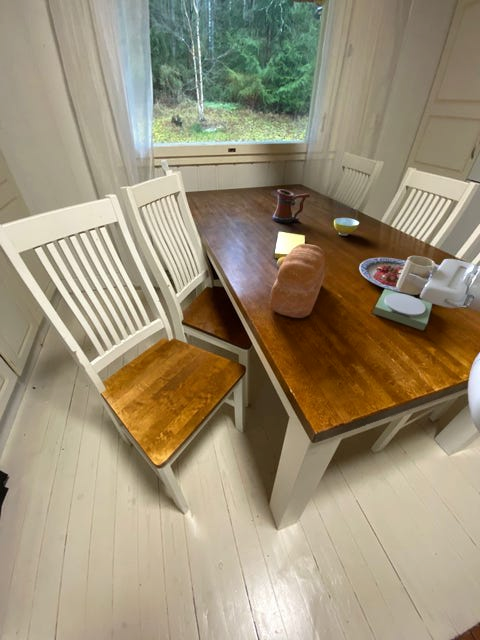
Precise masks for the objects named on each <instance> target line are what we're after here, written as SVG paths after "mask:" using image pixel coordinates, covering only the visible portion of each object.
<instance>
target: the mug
mask: <svg viewBox="0 0 480 640" xmlns="http://www.w3.org/2000/svg"><path fill="white" fill-rule="evenodd" d="M310 195H311V194H310V193H309V192H308V193H304V194H303V193H302V194H296V195H294V193H293V192H292V191H289V190H287V189H283V188H279V189H277V205H276V209H275V212H274V214H273V215H272V219H273V221H275V222H277V223H281V224H288V223H292V222H293V221H295V222H298V221H300V218H299V217H297V216H298V215H299V214H301V213H302V212H303V210H304V202H305V201H306V199H307V198H310ZM300 198H302V199H301V201H300V203H299V209H298V210H297V211H296V212H295V213H294V214H293V211H292V207H294V206H295V205H296V203H297V199H300Z"/></svg>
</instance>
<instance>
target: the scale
mask: <svg viewBox="0 0 480 640" xmlns="http://www.w3.org/2000/svg"><path fill="white" fill-rule="evenodd" d="M432 307H433V303H429V302H426V301H424V300H422V299H421V298H418V297H417V298H416V297H415V296H413V295H410V294H407V293H402V292H396V291H392V290H389V289H386V288H384V290H383V291H382V294H381V295H380V296H379V299H378V301H377V303H376V305H375V306H374V309H373V311H372V314H374V315H376V316H380V317H383V318H385V319H388V320H390V321H394V322H397V323H399V324H402V325H405V326H409V327H411V328H415V329H417V330H420V331H424V330H425V329H426V328H427V326H428V322H429V318H430V315H431V311H432Z"/></svg>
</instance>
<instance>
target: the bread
mask: <svg viewBox="0 0 480 640" xmlns="http://www.w3.org/2000/svg"><path fill="white" fill-rule="evenodd" d="M325 262H326V255H325V252H324V251H323V249H322V248H321V247H320V246H317V245H314V244H309V243H305V244H300V245H297V246H296V247H294V248H293V249H292V250H291V252H290V253H289V254H288V255H287V256H286V257H285V259H284V261H283V263H282V265H281V267H280V268H278V271H277V273H276V280H275V281H274V284H273V285H272V288H271V290H270V296H269V297H270V298H269V305H270V307H271V310H272V311H273V312H275V313H277V314H279V315H281V316H286V317H290V318H296V319H304V318H305V317H307V316H309V315H311V313H312V311H313V308H314V306H315V304H316V302H317V299H318V296H319V293H320V290H321V287H322V285H323V282H324V280H325V276H326V268H325V265H324V264H325Z"/></svg>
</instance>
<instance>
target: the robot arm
mask: <svg viewBox="0 0 480 640" xmlns="http://www.w3.org/2000/svg"><path fill="white" fill-rule="evenodd" d="M431 274H432V275H433V276H432V277H431V278H430V279H427V278H424V279H423V278H421V277H419V276H417V275H418V274H415V273H412V272H411V273H410V274H409V275H408V276H407V279H406V280H407V281H410V282H413V283H414V284H415V285H417V286H418V287H419V288H422V289H423V290H422V292H421V293H420V294H419V299H421V300H424V301H426V302H429V303H432V305H433V304H434V305H436V306H441V307H444V308H447V309H456V308H458V309H463V308H465V309H468V310H471V311H473V312H477V313H480V265H477V264H475V263H472V262H467V261H463V260H458V259H455V258H445V259H443V260H442V261H441V264H436V263H435V267H434V269H433V271H432V273H431ZM467 400H468V401H467V402H468V407H469V412H470V416H471V420H472V422H473V425H474V426H475V428H476V430H477V431H478V432H479V433H480V352H479V353H478V354H477V355H476V357H475V359H474V360H473V363H472V365H471V368H470V371H469V377H468V382H467Z"/></svg>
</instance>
